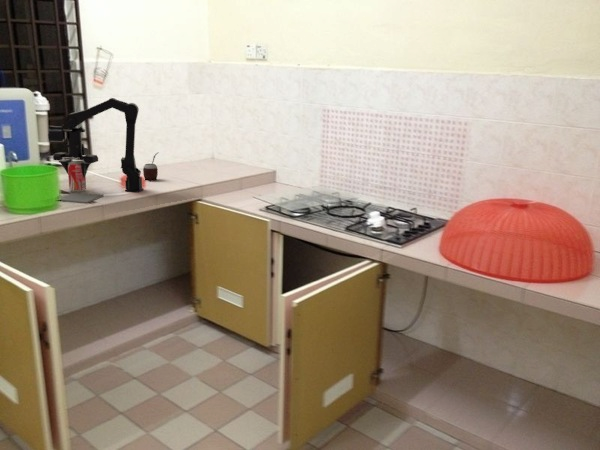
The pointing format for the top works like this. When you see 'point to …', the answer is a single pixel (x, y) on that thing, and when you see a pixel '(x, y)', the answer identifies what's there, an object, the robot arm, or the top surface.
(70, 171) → the soda can
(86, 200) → the charcoal mat
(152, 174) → the mate gourd
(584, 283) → the top surface
